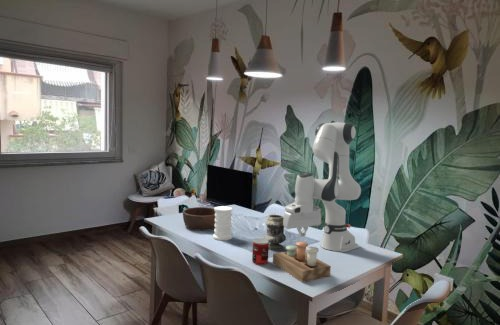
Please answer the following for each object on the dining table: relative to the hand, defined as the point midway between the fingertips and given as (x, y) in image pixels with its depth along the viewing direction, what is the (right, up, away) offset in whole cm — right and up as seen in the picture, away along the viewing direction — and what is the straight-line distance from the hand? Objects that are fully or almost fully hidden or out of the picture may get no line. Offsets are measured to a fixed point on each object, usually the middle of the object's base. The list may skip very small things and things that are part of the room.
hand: (301, 235), depth 170 cm
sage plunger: (-4, -15, +9) cm, 18 cm away
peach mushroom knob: (0, -11, +1) cm, 11 cm away
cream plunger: (+4, -12, -6) cm, 14 cm away
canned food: (-20, -15, +10) cm, 27 cm away
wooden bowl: (-57, -8, +69) cm, 89 cm away
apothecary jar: (-11, -13, +33) cm, 37 cm away
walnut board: (-1, -17, +2) cm, 17 cm away
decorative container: (-41, -11, +47) cm, 63 cm away
